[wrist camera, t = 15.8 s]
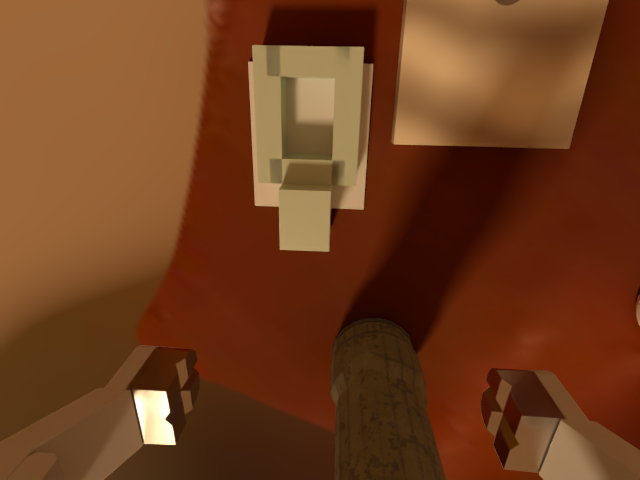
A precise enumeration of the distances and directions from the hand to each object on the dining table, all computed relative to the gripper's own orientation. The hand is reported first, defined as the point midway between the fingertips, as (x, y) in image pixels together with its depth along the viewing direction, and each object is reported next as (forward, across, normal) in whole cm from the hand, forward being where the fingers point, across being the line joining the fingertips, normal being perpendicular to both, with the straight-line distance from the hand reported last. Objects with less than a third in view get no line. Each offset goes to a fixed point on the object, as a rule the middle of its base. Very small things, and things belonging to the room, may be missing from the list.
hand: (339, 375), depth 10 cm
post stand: (+25, -11, -12) cm, 30 cm away
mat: (+24, +3, -3) cm, 25 cm away
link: (+24, +3, -2) cm, 24 cm away
